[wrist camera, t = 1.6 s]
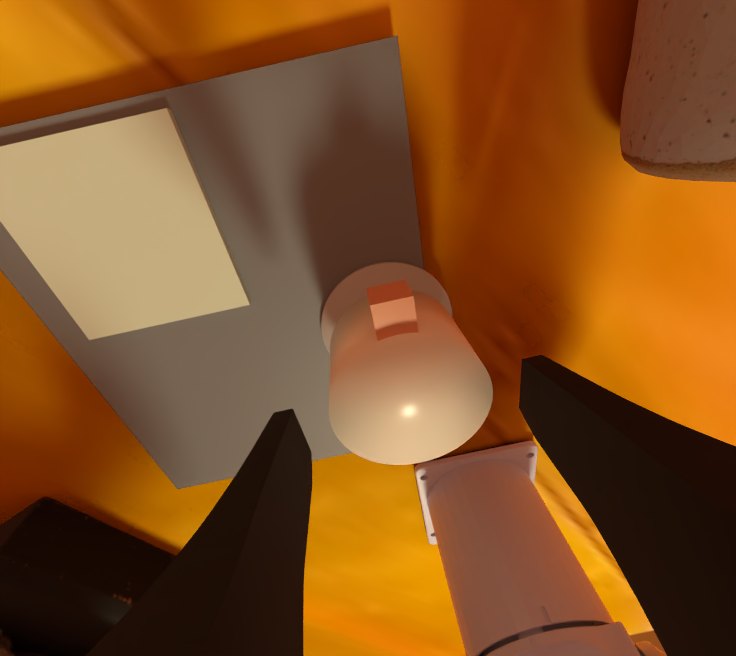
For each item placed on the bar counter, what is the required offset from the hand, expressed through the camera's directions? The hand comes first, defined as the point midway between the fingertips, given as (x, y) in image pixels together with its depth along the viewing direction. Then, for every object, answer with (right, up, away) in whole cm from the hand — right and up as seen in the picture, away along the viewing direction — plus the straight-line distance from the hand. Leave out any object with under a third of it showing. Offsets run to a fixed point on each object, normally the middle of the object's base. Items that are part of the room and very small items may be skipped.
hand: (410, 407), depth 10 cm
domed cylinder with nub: (0, +2, +3) cm, 4 cm away
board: (-7, +3, +5) cm, 9 cm away
